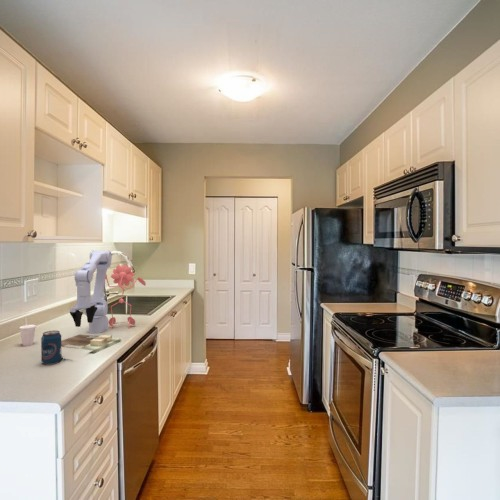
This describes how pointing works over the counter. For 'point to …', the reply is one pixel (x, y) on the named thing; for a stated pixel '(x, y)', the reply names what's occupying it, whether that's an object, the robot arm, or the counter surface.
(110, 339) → the block
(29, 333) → the smoothie
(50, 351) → the soda can
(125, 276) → the figurine
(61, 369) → the counter surface
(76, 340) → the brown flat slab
